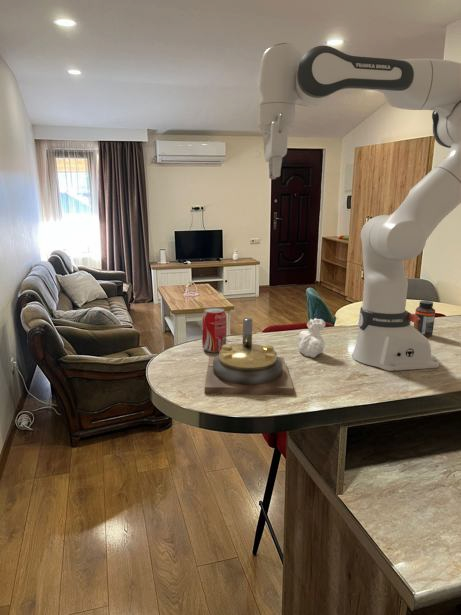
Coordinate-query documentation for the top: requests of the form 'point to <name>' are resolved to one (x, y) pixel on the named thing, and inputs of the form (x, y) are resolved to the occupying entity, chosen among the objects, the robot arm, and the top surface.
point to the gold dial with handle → (247, 353)
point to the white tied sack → (311, 338)
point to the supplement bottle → (425, 318)
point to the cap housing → (247, 379)
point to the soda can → (214, 329)
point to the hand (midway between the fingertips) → (274, 178)
